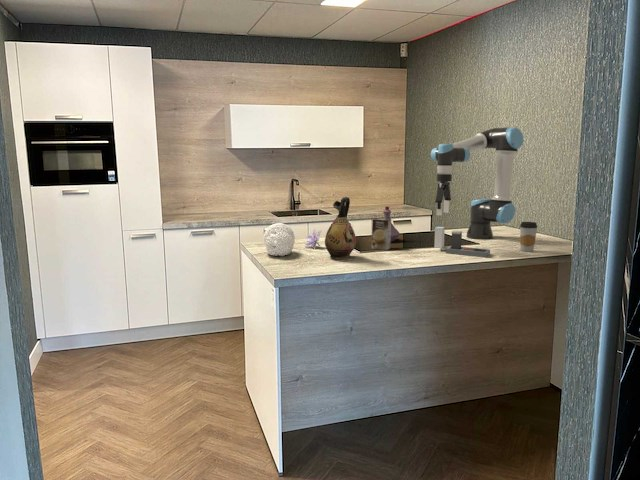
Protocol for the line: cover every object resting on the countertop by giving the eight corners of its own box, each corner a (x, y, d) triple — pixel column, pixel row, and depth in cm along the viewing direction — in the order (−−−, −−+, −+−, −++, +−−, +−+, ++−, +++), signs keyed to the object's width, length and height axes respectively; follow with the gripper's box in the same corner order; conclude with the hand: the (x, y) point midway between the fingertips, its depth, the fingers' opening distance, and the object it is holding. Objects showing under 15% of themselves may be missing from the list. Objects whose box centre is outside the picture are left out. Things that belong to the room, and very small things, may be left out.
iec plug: (436, 246, 276) (437, 226, 274) (443, 247, 274) (444, 227, 272) (434, 247, 273) (435, 227, 271) (441, 248, 271) (442, 228, 269)
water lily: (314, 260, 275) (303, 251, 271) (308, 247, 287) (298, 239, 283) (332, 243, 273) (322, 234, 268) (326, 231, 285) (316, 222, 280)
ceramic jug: (346, 262, 242) (346, 199, 236) (319, 258, 250) (318, 197, 244) (362, 255, 256) (363, 196, 250) (336, 252, 264) (336, 195, 258)
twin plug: (453, 251, 262) (454, 230, 260) (460, 252, 260) (461, 231, 258) (450, 252, 258) (451, 231, 256) (458, 253, 256) (459, 232, 254)
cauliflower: (256, 235, 267) (273, 212, 260) (284, 247, 274) (301, 226, 267) (258, 258, 251) (275, 234, 244) (287, 271, 258) (305, 248, 251)
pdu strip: (443, 250, 267) (443, 243, 266) (490, 255, 255) (490, 248, 254) (437, 253, 260) (438, 246, 259) (485, 258, 247) (486, 251, 247)
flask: (405, 242, 291) (406, 207, 287) (378, 243, 287) (378, 208, 283) (394, 237, 306) (394, 204, 303) (368, 238, 302) (368, 205, 299)
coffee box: (370, 248, 273) (371, 219, 270) (374, 246, 278) (375, 217, 276) (387, 250, 269) (387, 220, 266) (390, 248, 275) (391, 218, 272)
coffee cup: (534, 250, 268) (536, 222, 265) (536, 253, 260) (538, 224, 257) (518, 249, 270) (519, 221, 268) (518, 252, 263) (520, 223, 260)
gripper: (443, 172, 278) (442, 210, 282) (430, 174, 256) (428, 216, 260) (457, 172, 274) (455, 211, 278) (445, 174, 253) (443, 216, 256)
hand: (442, 213), depth 269 cm, fingers open, 13 cm apart
